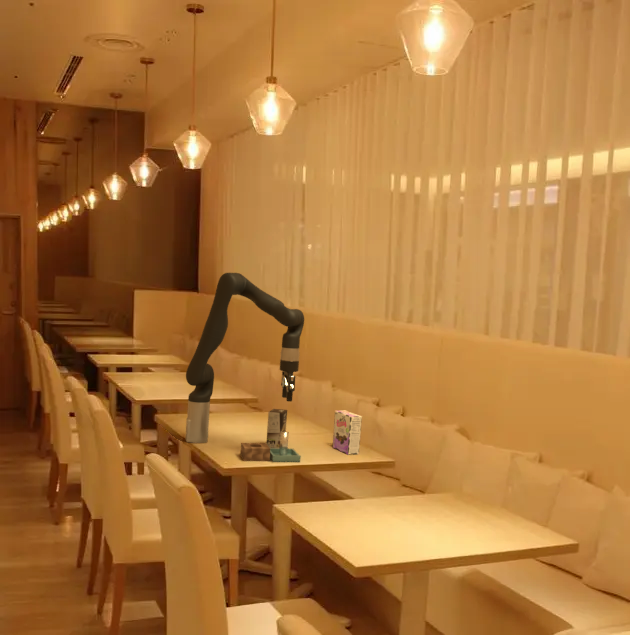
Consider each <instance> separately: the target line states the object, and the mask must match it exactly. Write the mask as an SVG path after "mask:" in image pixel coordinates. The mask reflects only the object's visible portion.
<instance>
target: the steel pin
mask: <svg viewBox="0 0 630 635" xmlns="http://www.w3.org/2000/svg"><path fill="white" fill-rule="evenodd" d="M288 447H289V431H287V430H286V431H281V436H280V451H279V455H287V451H288V449H289V448H288Z"/></svg>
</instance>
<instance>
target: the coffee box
mask: <svg viewBox="0 0 630 635" xmlns="http://www.w3.org/2000/svg"><path fill="white" fill-rule="evenodd" d="M287 420H288V410H287V409H282V408H273V409H271V410H269V411H268V414H267V428H266V430H267V431H266V442H265V443H266V444H267V445H268V446H269V448H280V436H281V431H286V432H287Z"/></svg>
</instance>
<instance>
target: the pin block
mask: <svg viewBox="0 0 630 635" xmlns="http://www.w3.org/2000/svg"><path fill="white" fill-rule="evenodd" d="M240 457H241V458H242V460H243V461H244V462H270V461H271V459H270V448H269V446H268V445H267V444H266V442H240Z"/></svg>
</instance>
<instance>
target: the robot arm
mask: <svg viewBox="0 0 630 635" xmlns="http://www.w3.org/2000/svg"><path fill="white" fill-rule="evenodd" d="M237 295H238V296H241V297H244V298H247V299H248V300H250V301H251V302H252V303H253V304H254V305H255V306H257V308H259V310H261V311H262V312H264V313H266V314H267V315H269V316H271V317H273V318H274V319H275V320H276V321H277V322H278V323H280V324H281V325H282V326H284V327H287V329H286V332H284V333H283V334H282V338H281V350H280V358H279V370H280V371H281V381H280V382H281V384H280V385H281V388H282V389H281V390H282V391H281V392H282V393H281V397H282V398H284V399H286V402H293V394H294V392H295V390H296V375H294V373H297V372H299V365H300V344H301V343H300V341H301V336H302V332H303V330H304V329H303V328H304V324H305V315H304V313H303V312H302V310H301V309H297V308H288V307H287V306H285V304H284V302H283V301H281V300H279V299H278V298H277V297H274V296H273V295H271V294H269V293H268V292H266V291H264V290H262V289H260V288H259V287H258V286H256V285H255V284H254V283H253V282H252V281H250V280H249V279H248V278H247V277H246V276H244V275H243V274H242V273H239V272H224V273H223V274H222V275H221V276H220V278H219V279H218V281H217V286H216V288H215V294H214V298H213V300H212V305H211V308H210V310H209V313H208V316H207V319H206V322H205V324H204V327H203V330H202V334H201V335H200V339H199V342H198V344H197V346H196V349H195V351H194V354H193V356H192V358H191V360H190V362H189V364H188V366H187V369H186V372H185V379H186V382H187V383H188V385H189V386H192V387H194V389H193V391H192V392H190V393H189V394H188V399H187V416H186V422H185V423H186V425H185V441H186V442H187V443H193V444H195V443H196V444H203V443H208V441H209V440H208V439H209V425H210V410H211V409H210V408H211V397H212V395H213V392H214V382H215V371H214V370H215V369H214V368H213V366H212V365H211V364H209V363H208V361H209V359H210V358H211V356H212V355H213V354H214V353H215V351H216V350H217V349H218V348H219V347H220V345H221V344H222V342H223V340H224V339H225V337H226V334H227V330H228V327H229V317H228V316H229V315H228V309H229V305H230V302H231V299H232V297H233V296H237Z"/></svg>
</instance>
